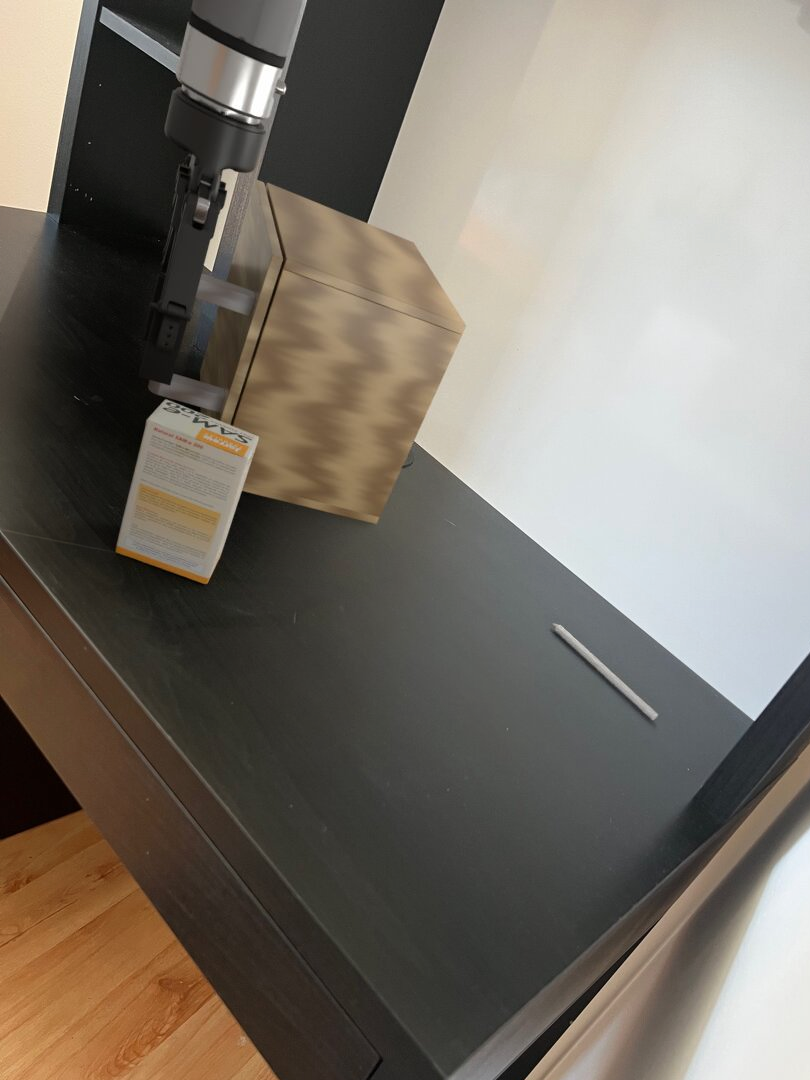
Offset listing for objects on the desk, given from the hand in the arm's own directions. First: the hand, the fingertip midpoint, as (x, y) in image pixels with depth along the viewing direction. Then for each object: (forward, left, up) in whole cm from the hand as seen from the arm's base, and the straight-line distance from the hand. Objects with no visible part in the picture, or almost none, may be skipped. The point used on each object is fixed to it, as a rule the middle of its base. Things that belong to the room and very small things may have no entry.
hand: (156, 360), depth 80 cm
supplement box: (+11, -12, -10) cm, 20 cm away
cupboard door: (-2, +11, -10) cm, 15 cm away
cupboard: (+9, +18, -10) cm, 22 cm away
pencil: (+52, +6, -10) cm, 54 cm away
